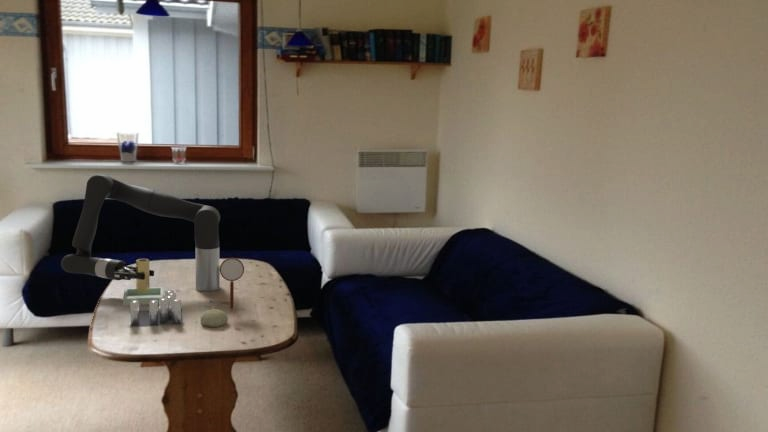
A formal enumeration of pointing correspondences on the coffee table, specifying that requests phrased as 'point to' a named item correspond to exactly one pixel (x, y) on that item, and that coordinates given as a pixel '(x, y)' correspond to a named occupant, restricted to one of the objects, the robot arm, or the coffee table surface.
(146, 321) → the mat
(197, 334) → the coffee table surface
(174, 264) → the coffee table surface
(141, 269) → the gold hexagonal pillar
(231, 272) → the magnifying glass
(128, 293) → the parts tray
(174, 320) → the spacer posts
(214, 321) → the sea urchin shell
